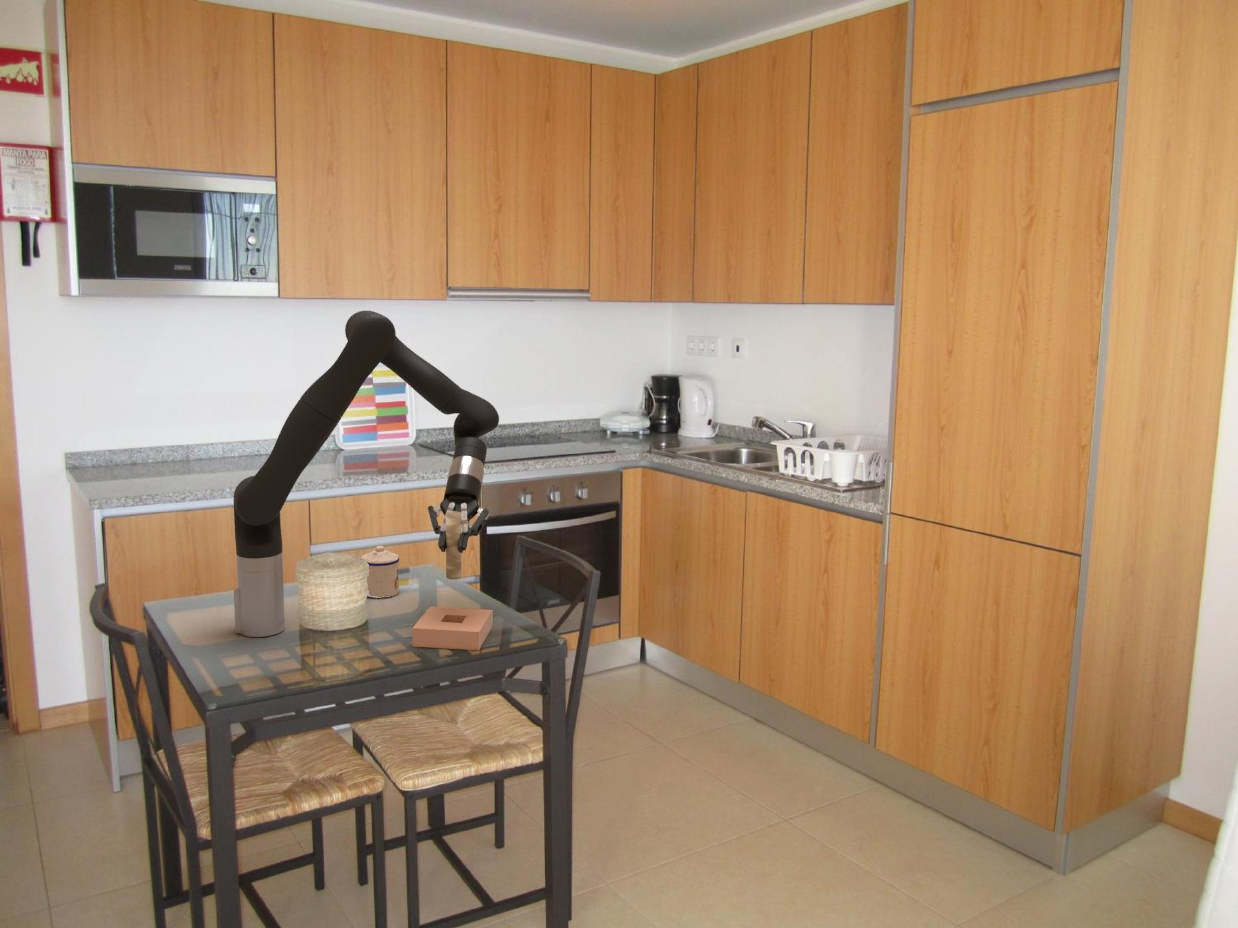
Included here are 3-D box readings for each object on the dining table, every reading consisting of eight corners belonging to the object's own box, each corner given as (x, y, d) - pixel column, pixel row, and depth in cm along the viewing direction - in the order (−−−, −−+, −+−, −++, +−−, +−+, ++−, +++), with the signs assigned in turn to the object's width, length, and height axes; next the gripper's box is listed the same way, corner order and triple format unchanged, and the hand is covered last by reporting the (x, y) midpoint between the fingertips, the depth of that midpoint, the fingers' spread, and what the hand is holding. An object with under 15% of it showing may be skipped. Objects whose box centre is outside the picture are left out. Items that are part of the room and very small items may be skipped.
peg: (444, 578, 214) (444, 514, 211) (448, 574, 217) (448, 510, 214) (459, 579, 214) (459, 515, 211) (462, 575, 217) (462, 511, 214)
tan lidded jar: (404, 596, 243) (403, 549, 241) (366, 601, 239) (365, 553, 237) (390, 582, 253) (390, 537, 251) (354, 586, 249) (353, 540, 247)
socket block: (412, 646, 211) (412, 628, 211) (430, 623, 225) (430, 606, 224) (478, 650, 210) (478, 631, 210) (492, 627, 224) (492, 609, 223)
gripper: (429, 470, 219) (414, 540, 209) (494, 473, 218) (482, 543, 208) (436, 489, 225) (421, 557, 216) (498, 492, 224) (487, 561, 215)
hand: (451, 550), depth 212 cm, fingers closed on peg, 3 cm apart
